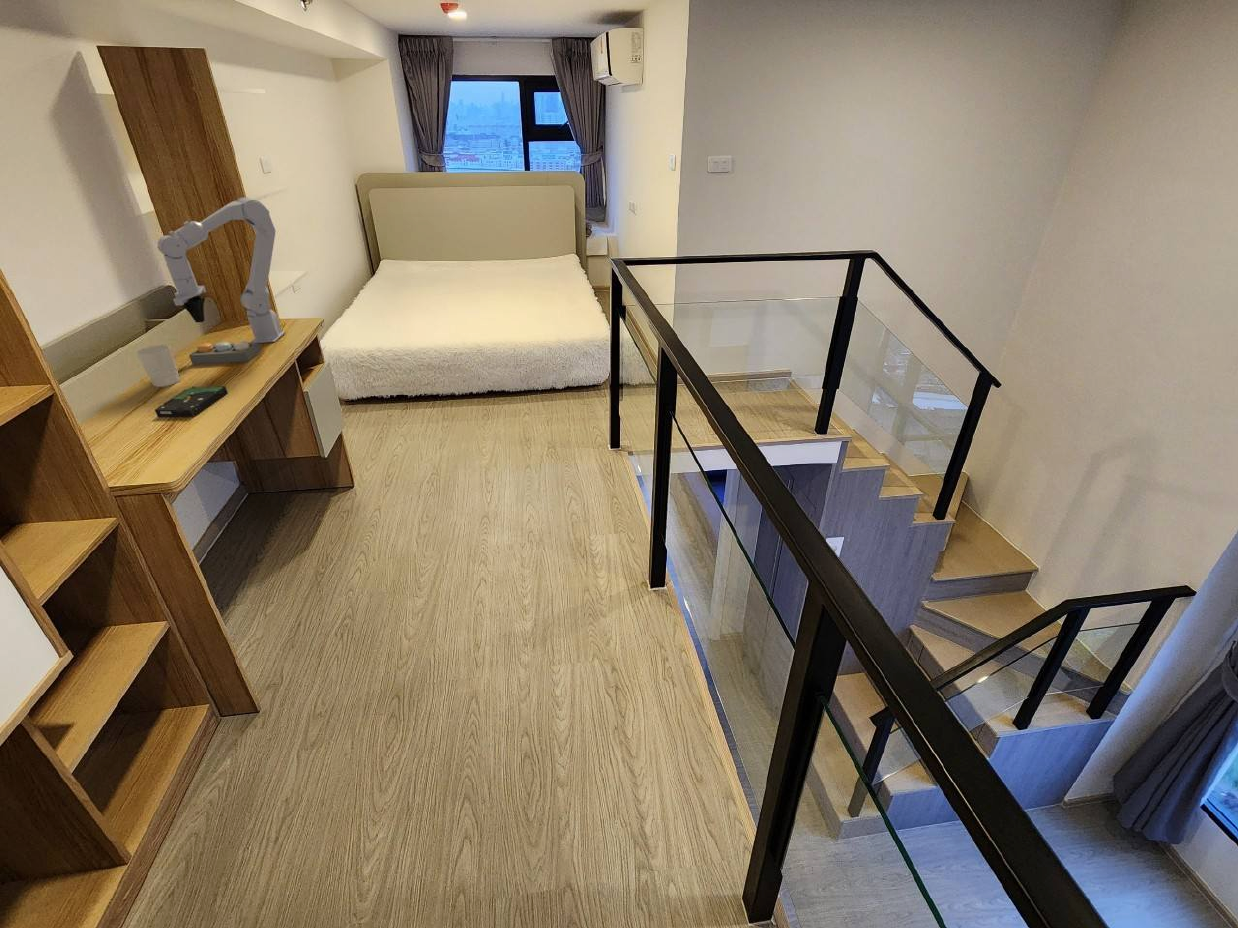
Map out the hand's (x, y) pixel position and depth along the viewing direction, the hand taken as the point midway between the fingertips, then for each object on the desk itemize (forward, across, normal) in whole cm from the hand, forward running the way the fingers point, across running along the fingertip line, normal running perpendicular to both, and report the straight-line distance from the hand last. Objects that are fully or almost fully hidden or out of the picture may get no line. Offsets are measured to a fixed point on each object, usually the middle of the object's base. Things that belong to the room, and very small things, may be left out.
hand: (200, 321), depth 197 cm
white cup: (+11, +23, -2) cm, 25 cm away
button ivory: (+9, +5, +13) cm, 16 cm away
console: (+10, +5, +7) cm, 13 cm away
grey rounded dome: (+9, +5, +7) cm, 12 cm away
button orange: (+9, +5, +2) cm, 10 cm away
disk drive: (+11, +40, +14) cm, 44 cm away
